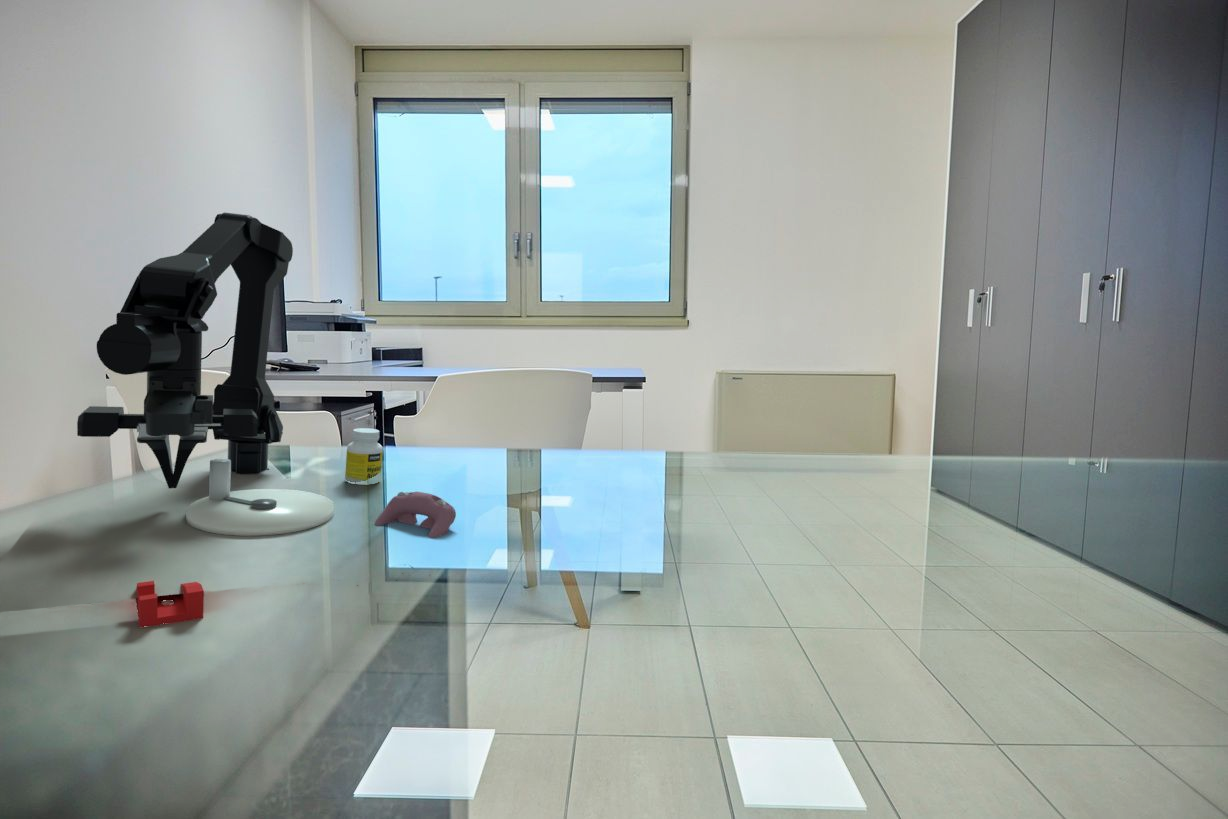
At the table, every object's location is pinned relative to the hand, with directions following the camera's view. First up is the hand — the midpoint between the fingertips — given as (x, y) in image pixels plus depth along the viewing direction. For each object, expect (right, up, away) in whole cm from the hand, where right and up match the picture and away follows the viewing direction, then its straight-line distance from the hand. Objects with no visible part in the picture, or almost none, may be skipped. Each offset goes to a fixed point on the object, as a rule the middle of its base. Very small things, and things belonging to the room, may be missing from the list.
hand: (172, 487), depth 87 cm
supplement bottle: (+16, -3, +22) cm, 27 cm away
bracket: (+15, -9, -23) cm, 29 cm away
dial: (+11, -4, +1) cm, 12 cm away
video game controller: (+30, -7, +3) cm, 31 cm away
